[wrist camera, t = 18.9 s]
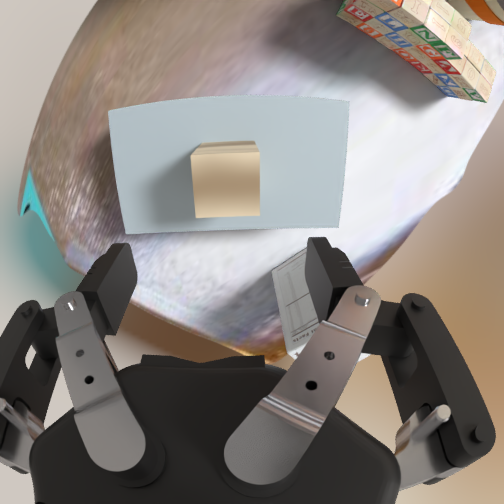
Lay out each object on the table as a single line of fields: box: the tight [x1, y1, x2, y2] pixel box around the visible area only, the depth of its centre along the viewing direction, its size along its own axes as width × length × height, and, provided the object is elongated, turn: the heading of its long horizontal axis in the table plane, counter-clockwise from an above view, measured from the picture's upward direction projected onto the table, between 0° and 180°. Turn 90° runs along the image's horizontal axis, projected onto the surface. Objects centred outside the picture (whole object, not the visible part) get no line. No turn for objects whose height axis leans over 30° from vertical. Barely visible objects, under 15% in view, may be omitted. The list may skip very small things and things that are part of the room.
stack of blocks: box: [336, 0, 496, 103], centre depth 21 cm, size 21×6×12 cm, turn 67°
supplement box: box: [271, 248, 371, 362], centre depth 38 cm, size 10×9×17 cm
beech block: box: [191, 141, 260, 218], centre depth 23 cm, size 5×5×7 cm
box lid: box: [108, 95, 349, 234], centre depth 27 cm, size 14×24×1 cm, turn 90°
